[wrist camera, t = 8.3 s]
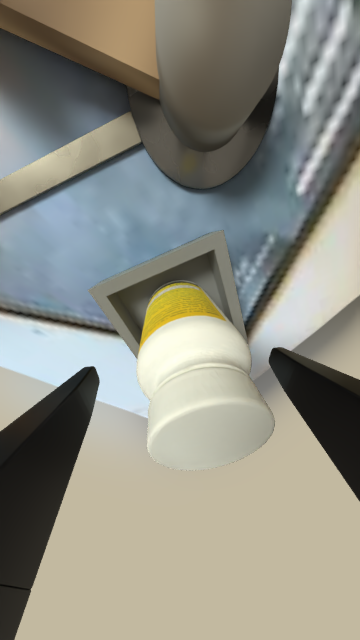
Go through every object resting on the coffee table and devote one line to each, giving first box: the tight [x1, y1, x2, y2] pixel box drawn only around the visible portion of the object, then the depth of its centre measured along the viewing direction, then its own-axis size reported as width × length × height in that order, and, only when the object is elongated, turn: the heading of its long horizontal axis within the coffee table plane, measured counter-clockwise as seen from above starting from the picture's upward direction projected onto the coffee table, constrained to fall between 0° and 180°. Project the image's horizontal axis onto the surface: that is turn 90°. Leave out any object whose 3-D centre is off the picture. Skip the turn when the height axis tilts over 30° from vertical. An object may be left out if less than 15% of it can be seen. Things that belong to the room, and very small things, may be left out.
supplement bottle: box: [137, 280, 275, 470], centre depth 9 cm, size 5×5×10 cm
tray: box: [88, 230, 248, 358], centre depth 13 cm, size 9×9×2 cm
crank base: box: [0, 66, 279, 215], centre depth 8 cm, size 21×8×1 cm, turn 112°
